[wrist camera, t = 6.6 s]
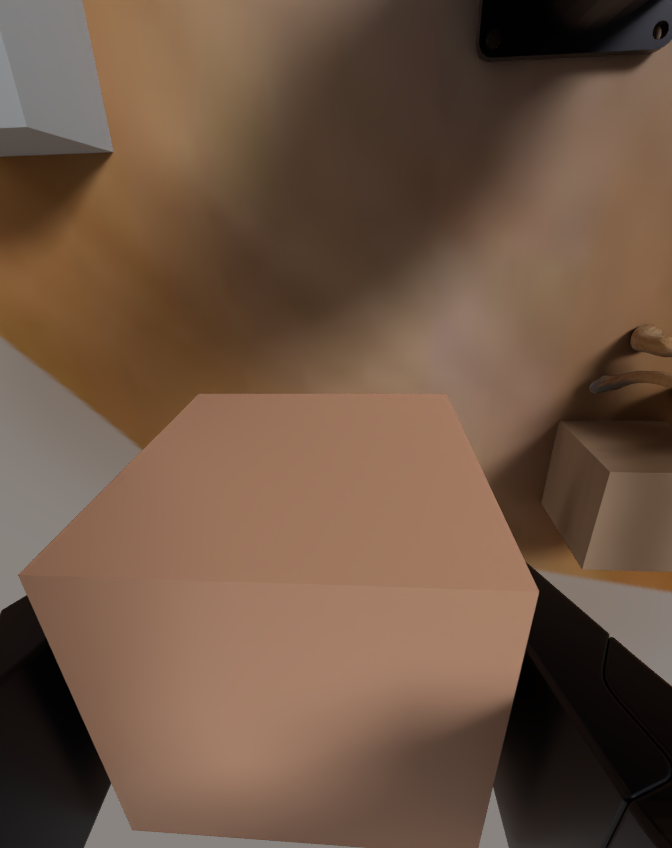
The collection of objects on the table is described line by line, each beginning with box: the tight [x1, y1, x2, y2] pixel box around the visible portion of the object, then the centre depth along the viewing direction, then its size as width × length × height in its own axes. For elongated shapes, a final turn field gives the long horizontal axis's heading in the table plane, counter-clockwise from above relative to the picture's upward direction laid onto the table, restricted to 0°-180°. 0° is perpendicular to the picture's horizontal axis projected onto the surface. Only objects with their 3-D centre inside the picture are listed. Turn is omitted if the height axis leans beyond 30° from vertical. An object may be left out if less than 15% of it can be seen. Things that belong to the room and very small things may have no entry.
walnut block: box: [541, 420, 672, 572], centre depth 20 cm, size 5×5×5 cm
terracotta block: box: [18, 394, 539, 848], centre depth 7 cm, size 5×5×5 cm
